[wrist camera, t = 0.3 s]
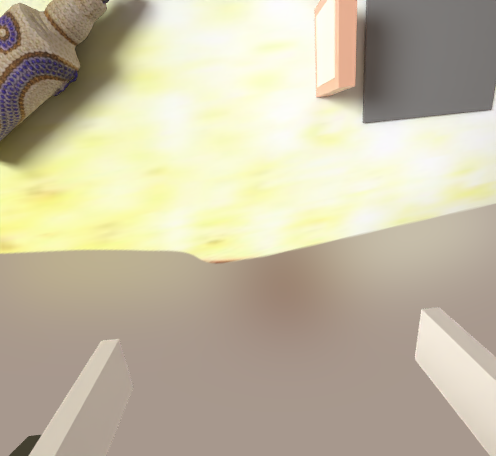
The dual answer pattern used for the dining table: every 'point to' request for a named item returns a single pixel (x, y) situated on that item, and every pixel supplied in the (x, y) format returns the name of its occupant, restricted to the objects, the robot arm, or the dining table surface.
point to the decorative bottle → (40, 54)
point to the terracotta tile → (335, 46)
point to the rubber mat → (428, 58)
